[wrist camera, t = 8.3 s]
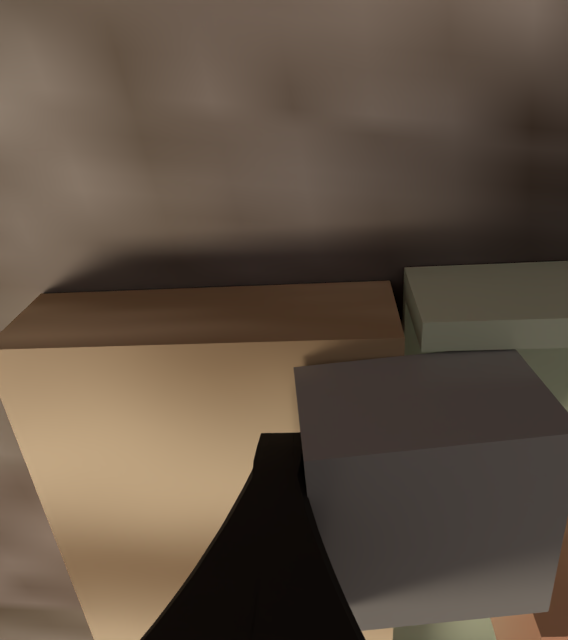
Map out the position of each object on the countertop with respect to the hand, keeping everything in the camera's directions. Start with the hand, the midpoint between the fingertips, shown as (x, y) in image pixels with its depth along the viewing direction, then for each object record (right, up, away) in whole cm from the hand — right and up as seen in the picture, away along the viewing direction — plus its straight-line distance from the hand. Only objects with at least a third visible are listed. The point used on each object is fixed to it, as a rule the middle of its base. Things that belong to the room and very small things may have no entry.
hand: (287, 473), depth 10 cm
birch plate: (-1, -2, +5) cm, 6 cm away
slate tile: (+2, +1, 0) cm, 2 cm away
